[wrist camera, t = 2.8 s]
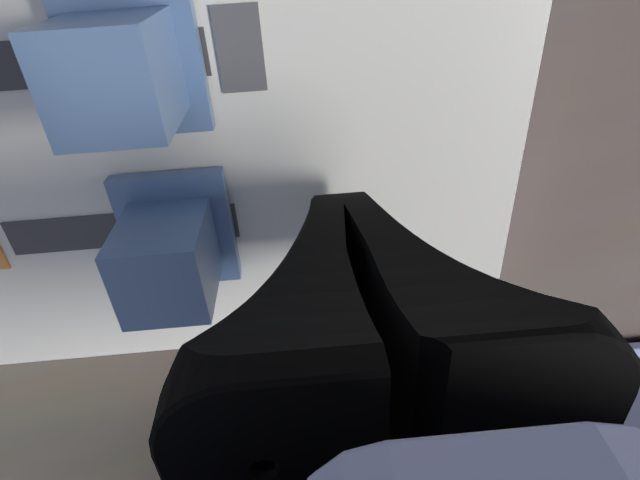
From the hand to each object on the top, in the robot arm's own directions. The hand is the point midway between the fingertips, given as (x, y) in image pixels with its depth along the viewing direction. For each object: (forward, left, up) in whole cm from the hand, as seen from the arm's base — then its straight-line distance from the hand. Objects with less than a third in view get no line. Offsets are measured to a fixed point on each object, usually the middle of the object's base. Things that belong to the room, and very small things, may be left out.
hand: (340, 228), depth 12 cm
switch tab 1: (+4, +4, -1) cm, 6 cm away
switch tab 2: (0, +4, -1) cm, 4 cm away
